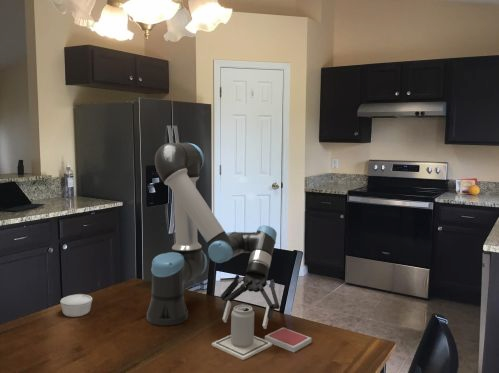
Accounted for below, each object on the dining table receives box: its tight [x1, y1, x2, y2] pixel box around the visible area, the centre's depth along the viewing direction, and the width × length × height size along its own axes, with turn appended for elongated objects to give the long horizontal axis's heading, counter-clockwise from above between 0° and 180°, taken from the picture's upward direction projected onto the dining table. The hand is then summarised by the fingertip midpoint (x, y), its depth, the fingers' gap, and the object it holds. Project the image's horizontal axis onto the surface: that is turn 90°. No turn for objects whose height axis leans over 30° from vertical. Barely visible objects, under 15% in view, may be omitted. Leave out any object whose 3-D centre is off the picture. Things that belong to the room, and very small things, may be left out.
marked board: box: [211, 334, 273, 361], centre depth 150 cm, size 14×14×1 cm
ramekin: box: [59, 293, 93, 318], centre depth 174 cm, size 11×11×5 cm
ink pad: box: [264, 327, 312, 353], centre depth 154 cm, size 12×10×2 cm
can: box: [230, 304, 255, 347], centre depth 150 cm, size 8×8×12 cm
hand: (244, 324), depth 149 cm, fingers open, 13 cm apart
